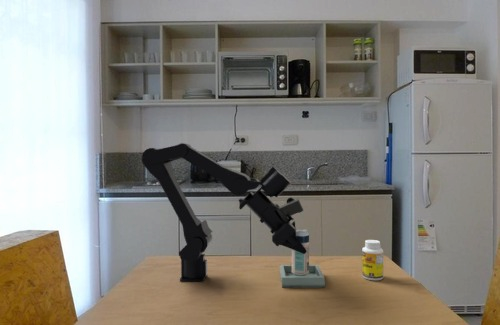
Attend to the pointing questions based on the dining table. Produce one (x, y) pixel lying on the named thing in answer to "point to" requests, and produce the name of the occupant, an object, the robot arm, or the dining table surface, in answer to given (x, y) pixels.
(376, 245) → the supplement bottle
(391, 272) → the dining table surface
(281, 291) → the dining table surface
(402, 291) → the dining table surface
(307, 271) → the beer can
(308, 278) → the dish
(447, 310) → the dining table surface
